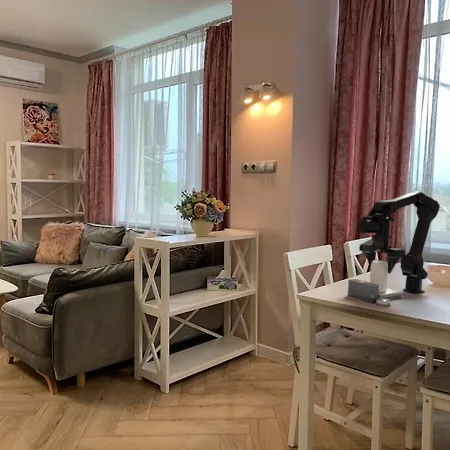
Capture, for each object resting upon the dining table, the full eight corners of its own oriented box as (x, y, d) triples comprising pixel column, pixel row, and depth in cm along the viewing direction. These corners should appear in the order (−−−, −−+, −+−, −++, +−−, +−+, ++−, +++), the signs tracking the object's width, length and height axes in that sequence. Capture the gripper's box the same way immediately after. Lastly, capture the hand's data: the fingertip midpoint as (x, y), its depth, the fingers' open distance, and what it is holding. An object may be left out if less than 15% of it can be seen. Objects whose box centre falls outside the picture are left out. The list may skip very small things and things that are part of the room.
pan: (378, 287, 196) (378, 286, 196) (399, 293, 186) (399, 291, 186) (358, 290, 190) (359, 288, 190) (379, 296, 181) (379, 294, 181)
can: (366, 289, 189) (367, 260, 188) (379, 288, 191) (380, 259, 190) (376, 293, 183) (378, 263, 182) (390, 292, 185) (391, 262, 184)
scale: (376, 290, 197) (377, 274, 196) (401, 298, 185) (402, 281, 185) (346, 295, 189) (347, 278, 188) (371, 303, 177) (372, 285, 177)
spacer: (382, 302, 179) (383, 297, 179) (393, 306, 175) (393, 300, 174) (373, 304, 177) (373, 299, 176) (383, 307, 172) (383, 302, 172)
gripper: (350, 230, 190) (348, 268, 191) (386, 236, 174) (384, 277, 175) (369, 229, 195) (368, 266, 197) (406, 235, 179) (404, 275, 181)
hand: (380, 271), depth 187 cm, fingers open, 9 cm apart
